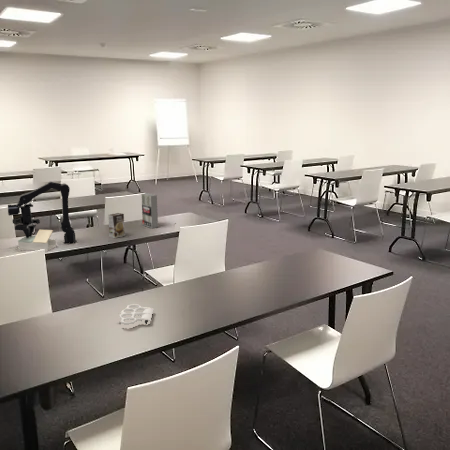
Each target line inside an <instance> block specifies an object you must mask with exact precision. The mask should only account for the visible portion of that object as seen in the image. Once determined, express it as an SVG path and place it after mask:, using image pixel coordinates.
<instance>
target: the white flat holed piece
mask: <svg viewBox="0 0 450 450" xmlns="http://www.w3.org/2000/svg"><path fill="white" fill-rule="evenodd" d="M130 307H138V308H135V309H133V308H130ZM138 310H144V311H143V312H136V311H138ZM153 310H154V311H155V309H154V308H153V307H149V306H141V305H140V304H138V303H131V304H127V305H126V308H124V309H122V310H121V311H120V313H121V314H118V315H119V318H120V319H121V324H124V325H129V324H134V323H135V322H137V321H142V320H146V321H148V320H149V321H151V322H152V320H151V317H152V314H153V315H154V313H153ZM125 311H133V312H131V313H126V312H125ZM126 315H131V317H126V318H124V317H123V316H126ZM136 315H138V316H139V315H140V316H142V317H141V318H135V316H136ZM129 319H130V320H134V321H131V322H124V321H125V320H129ZM121 324H120V325H121Z"/></svg>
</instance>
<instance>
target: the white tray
mask: <svg viewBox="0 0 450 450" xmlns="http://www.w3.org/2000/svg"><path fill="white" fill-rule="evenodd" d="M56 240H57V238H56V239H55V238H49V240H48V242H47V243H33V242H32V243H29V242H18V241H17V242H18V243H17V245H18V248H17V250H18V251H30V252H36V251H35V250H40V249H45V251H44V252H48V250H49V251H50V250H53V249H54V248H56V247H58V244H57V241H56Z"/></svg>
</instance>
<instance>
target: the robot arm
mask: <svg viewBox="0 0 450 450" xmlns="http://www.w3.org/2000/svg"><path fill="white" fill-rule="evenodd" d="M51 189H53V190H55V191H56V190H57V191H59V193H60V196H61V207H62V210H61V211H62V219H61V220H59V223H60V226H59V228H60V229H61V230H62V232H63V233H64V235H63V241H64V242H63V244H75V243H76V242H77V241H78V240H77V239H76V233H75V232H76V231H75V229H74V228H73V227H72V226H71V222H70V218H69V195H70V190H71V189H70V186H69V185H68V184H67V183H57V182H54V181H49V182H47V183H45V184H44V185H42V186H40V187H37V188H36V189H34V190H32V191H29V192H26V193H23V194H20V195H19V200H18V201H17V203H16V204H15V203H14V204H8V205H7V214H8V216H18V215H20V214H21V215H20V216H19V218H13V219H12V224H13V225H14V230H15V231H23V233H24V236H25V237H27V238H29V236H33V233H34V231H35V228H36V227H37V225H39V224H40V223H41V221H40V219H39V218H33V214H32V210H31V208H33V207H34V204H32V203H31V201H33V200H34V199H35V198H36V197H39V196H40V195H41V194H44V193H45V192H47V191H49V190H51Z"/></svg>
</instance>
